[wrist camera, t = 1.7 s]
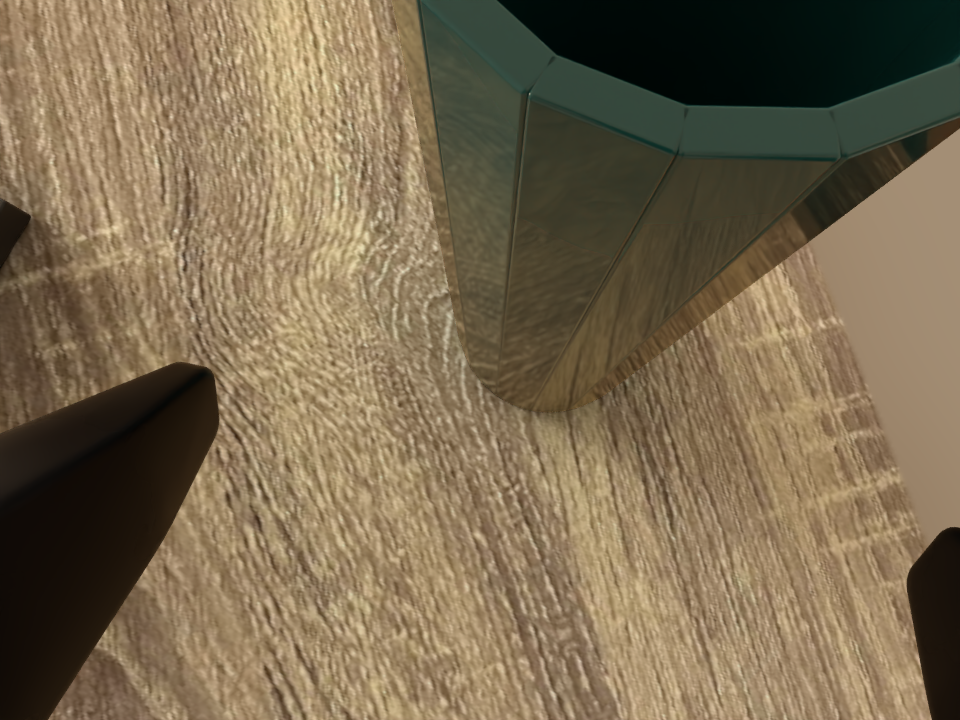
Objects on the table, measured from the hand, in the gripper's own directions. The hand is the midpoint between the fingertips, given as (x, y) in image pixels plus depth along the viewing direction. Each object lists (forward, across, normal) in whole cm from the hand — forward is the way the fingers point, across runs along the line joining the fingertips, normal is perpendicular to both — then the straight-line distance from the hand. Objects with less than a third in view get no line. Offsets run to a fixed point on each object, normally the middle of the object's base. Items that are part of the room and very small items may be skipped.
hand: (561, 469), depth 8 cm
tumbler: (+12, 0, +5) cm, 13 cm away
